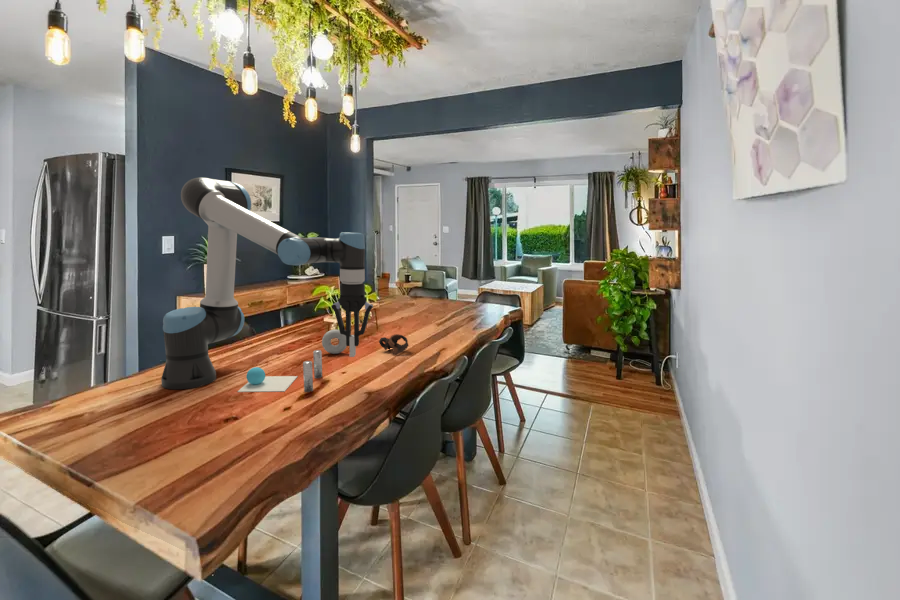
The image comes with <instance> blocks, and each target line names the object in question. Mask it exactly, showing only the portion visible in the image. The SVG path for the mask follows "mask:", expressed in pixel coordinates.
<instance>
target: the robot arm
mask: <svg viewBox="0 0 900 600" xmlns="http://www.w3.org/2000/svg"><path fill="white" fill-rule="evenodd" d="M180 199H181V202H182V205H183V206H184V208H185V209H186V210H187V211H188V212H189V213H191V214H193V215H194V216H196V217H198V218H200V219H202V220H203V222H205V224H207V226H208V228H207V229H208V230H207V231H208V232H207V254H206V273H205V274H206V278H205V296H204V297H203V298H202V299H201V300H200V302H199V306H188V307H184V308H183V307H181V308H176V309H173V310H171V311H169V312H167V313H165V314H164V316H163V319H162V324H163V325H162V331H163V339H164V340H163V341H164V350H165V360H166V361H165V363H164V364H165V365H164V368H163V372H162V374H161V379H160V380H161V381H160V382H161V387H163V389H168V390H185V389H186V390H187V389H194V388H199V387H203V386H206V385H208V384H210V383H211V384H212V383H213V382H214V381H216V380H217V372H216V369H215V367H214V365H213V363H212V360H211V358H210V357H209V356H210V355H209V346H208V345H210V344H214V343H217V342H220V341H224V340H228V339H231V338H232V337H234V336H236V335H238V334H240V332H241V331H242V329H243V327H244V325H245V315H244V312H243V310H242V309H241V307H240V306H239V302H238V300H236V298H235V297H234V296H235V282H236V281H235V278H236V263H237V262H236V261H237V242H238V241H237V240H238V235H240V236H242V237H244V238H246V239H247V240H250V241H251V242H252V243H255V244H257V245H259V246H261V247H263V248H264V249H266V250H269V251H270V252H272V253H274V254H276V255H278V257H279V259H280V260H281V262H282V263H283V264H285V265H289V266H294V267H295V266H303V265H308V264H318V263H338V264H339V281H340V282H341V283H340V284H339V299H338V300H337V301H336V302H334V303H333V304H332V305H331V309H332V311H334V316H335V319H336V322H337V326H338V330H339V331H340V334H343V335H345V336H346V345H347V346H346V347H349V358H354V357H355V356H356V354H357V352H356V348H357V347H358V346H359V344H360V336H361V335H364V334H365V332H366V328H367V324H368V320H369V316H370V312H371V310H372V309H373V307H374V304H373V303H369V302H368V301H367V298H366V293H365V290H366V289H365V288H366V287H365V286H366V284H364V282H365V280H366V276H365V275H366V274H365V273H366V271H365V267H366V266H365V264H366V263H365V259H366V254H365V253H366V252H365V251H366V246H365V235H364V234H363V233H361V232H348V231H347V232H346V231H345V232H343V231H341V232H340V233H339V237H337V238H335V237H334V238H330V237H319V236H316V237H315V236H312V237H302V236H299V235H297V234H295V233H294V232H291V231H290V230H288V229H286V228H284V227H282V226H280V225H278V224H277V223H274V222H272V221H270V220H268V219H267V218H264V217H263V216H261V215H259V214H256V213H255V212H253V211H251V209H252V199H251V196H250V194H249V192H248V190H246V188H245V187H244V186H243V185H242V184H239V183H237V182H233V181H229V180H221V179H215V178H209V177H202V176H201V177H199V176H198V177H195V178H191V179H189V180H187V182H185V183H184V185H183V186H182V188H181V192H180ZM341 307H342V309H343V310H344V311H345V323H344V320H343V317H342V312H341ZM363 307H364V309H365V311H364V316H363V319H362V323H361V327H360V311H361V310H362V309H363ZM352 313H353V318H354V319H353V332H354V333H353V334H352Z"/></svg>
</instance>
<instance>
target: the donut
mask: <svg viewBox="0 0 900 600" xmlns="http://www.w3.org/2000/svg"><path fill="white" fill-rule="evenodd" d="M333 339H338V344H335V345H334V344H332V340H333ZM321 346H322V347H323V348H324V351H326V352H327V353H329V354H333V355H337V354H341V353H342V352H344V350H345V349H346V348H347V347H348V346H347V345H346V336H345V335H343V334H340V331H339V329H335V328H333V329H331V330H329V331H327V332H325V333H324V334H323V337H322V339H321Z"/></svg>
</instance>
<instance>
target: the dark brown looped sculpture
mask: <svg viewBox="0 0 900 600" xmlns="http://www.w3.org/2000/svg"><path fill="white" fill-rule="evenodd" d="M399 340H403V342H404V343H403V344H399V343H398V341H399ZM378 342H379V345H380V346H381V347H382V348H383V349H384V350H385V351H387V349H389V350H391V349H390V348H392V352H391V354H392V355H394V354H396V355H397V354H398V353H401V352H404V351H406V350H407V349H408V347H409V346H410V345H409V341H408V338H407V337H406V336H404V335H402V334H396V333H395V334H392V335H391V336H390V337H389V338H388V337H380V339H379V340H378Z"/></svg>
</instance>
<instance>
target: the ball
mask: <svg viewBox="0 0 900 600" xmlns="http://www.w3.org/2000/svg"><path fill="white" fill-rule="evenodd" d="M265 376H266V373H265V370H264V369H263V368H262V367H258V366H254V367H251V368H250V369H249V370H248V371H247V373H246V376H245V377H246V381H247V383H248V382H249V383H250V384H253V385H257V384H260V383H262V382H263V381H264V379H265Z"/></svg>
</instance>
